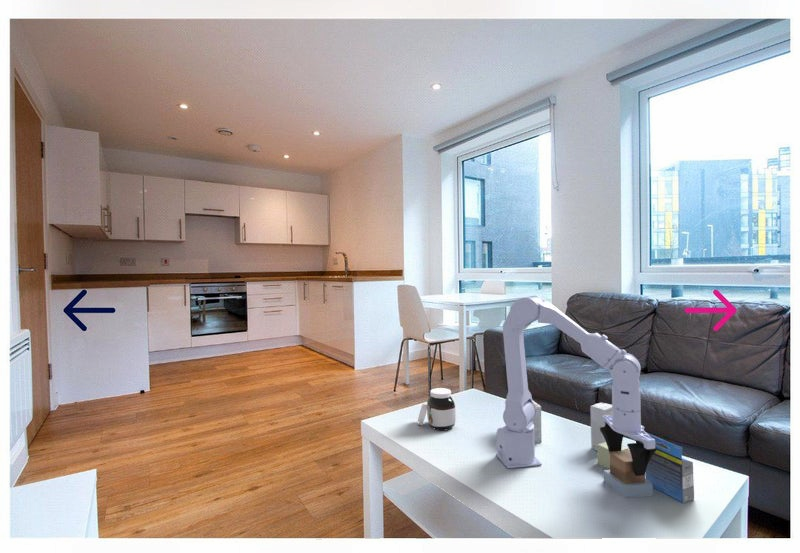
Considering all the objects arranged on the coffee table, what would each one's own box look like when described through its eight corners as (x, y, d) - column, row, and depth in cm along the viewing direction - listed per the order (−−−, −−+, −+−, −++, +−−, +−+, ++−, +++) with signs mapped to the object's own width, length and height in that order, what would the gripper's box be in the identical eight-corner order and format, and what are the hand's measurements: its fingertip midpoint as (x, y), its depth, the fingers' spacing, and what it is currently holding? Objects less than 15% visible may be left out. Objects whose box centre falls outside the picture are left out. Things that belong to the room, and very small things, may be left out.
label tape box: (695, 500, 84) (694, 444, 84) (682, 504, 83) (682, 447, 83) (656, 480, 93) (655, 429, 92) (644, 483, 91) (643, 431, 91)
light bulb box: (507, 429, 124) (506, 396, 124) (527, 428, 124) (527, 395, 124) (520, 444, 113) (520, 407, 113) (542, 443, 114) (542, 406, 113)
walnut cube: (625, 484, 86) (624, 461, 86) (610, 472, 91) (609, 451, 91) (645, 481, 87) (645, 459, 87) (629, 470, 92) (628, 449, 92)
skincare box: (605, 454, 106) (605, 410, 106) (590, 448, 110) (589, 405, 109) (617, 448, 109) (616, 405, 109) (601, 442, 113) (601, 401, 113)
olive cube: (615, 472, 97) (614, 452, 97) (597, 463, 101) (597, 444, 101) (628, 467, 99) (628, 448, 99) (611, 459, 103) (610, 440, 103)
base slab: (623, 499, 86) (623, 486, 86) (603, 482, 93) (603, 470, 93) (652, 497, 86) (652, 483, 86) (631, 480, 93) (630, 468, 93)
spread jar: (459, 429, 124) (458, 393, 124) (428, 436, 120) (427, 398, 120) (441, 417, 136) (440, 384, 135) (412, 422, 131) (411, 388, 131)
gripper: (667, 418, 83) (668, 481, 83) (619, 396, 97) (620, 450, 97) (638, 420, 82) (639, 484, 82) (593, 398, 96) (594, 453, 96)
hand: (627, 466), depth 89 cm, fingers open, 7 cm apart
